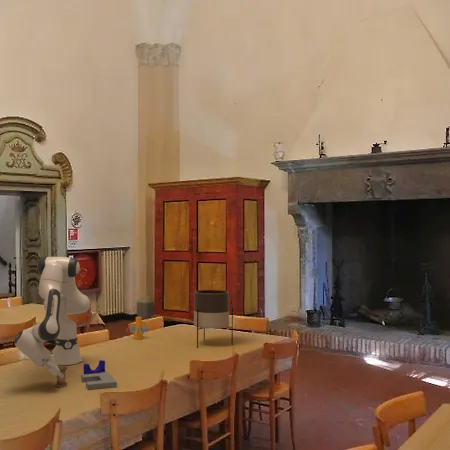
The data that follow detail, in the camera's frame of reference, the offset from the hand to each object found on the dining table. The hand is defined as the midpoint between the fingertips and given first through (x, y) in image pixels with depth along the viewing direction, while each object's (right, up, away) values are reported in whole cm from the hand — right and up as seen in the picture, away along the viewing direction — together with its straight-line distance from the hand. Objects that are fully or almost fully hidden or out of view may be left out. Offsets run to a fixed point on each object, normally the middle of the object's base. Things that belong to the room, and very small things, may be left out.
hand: (62, 375), depth 292 cm
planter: (+71, -6, +101) cm, 124 cm away
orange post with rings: (+20, -5, +120) cm, 121 cm away
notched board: (+17, -5, +5) cm, 18 cm away
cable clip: (+11, -5, +24) cm, 27 cm away
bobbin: (-1, -5, 0) cm, 5 cm away
